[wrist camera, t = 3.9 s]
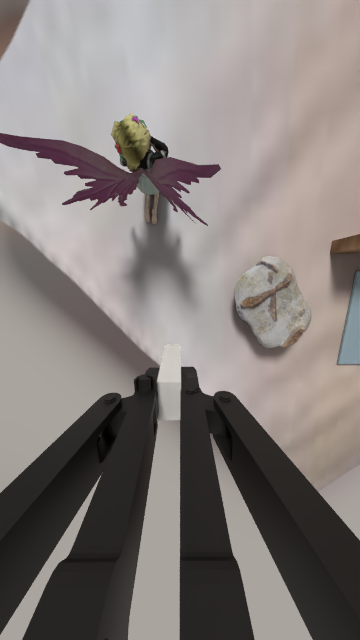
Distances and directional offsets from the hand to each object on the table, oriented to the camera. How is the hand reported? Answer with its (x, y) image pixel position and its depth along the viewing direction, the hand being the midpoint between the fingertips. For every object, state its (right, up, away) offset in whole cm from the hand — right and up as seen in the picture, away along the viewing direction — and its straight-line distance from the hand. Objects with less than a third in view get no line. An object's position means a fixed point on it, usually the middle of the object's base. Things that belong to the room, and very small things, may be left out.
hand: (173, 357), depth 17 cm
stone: (+12, +2, +10) cm, 16 cm away
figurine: (-3, +19, +6) cm, 20 cm away
